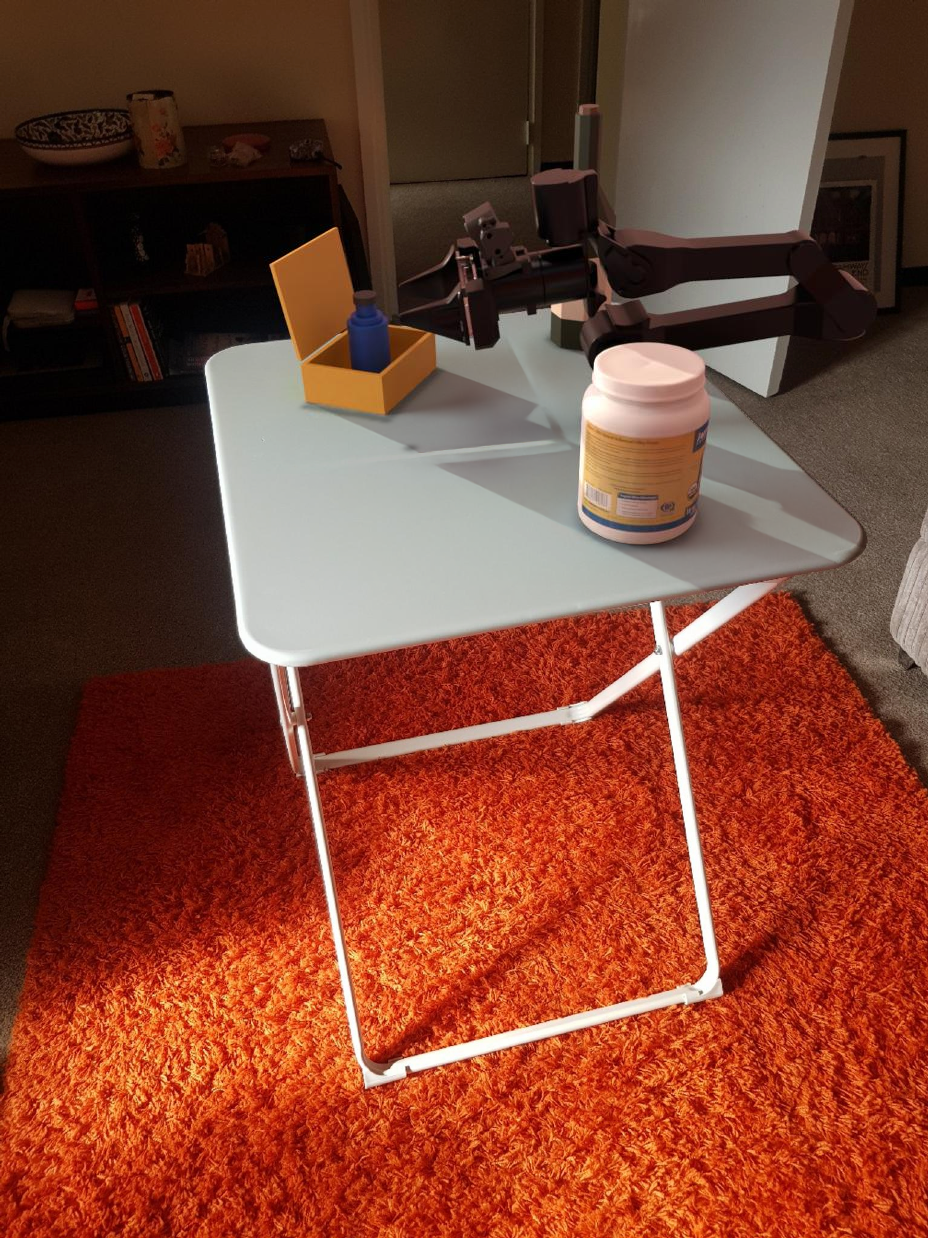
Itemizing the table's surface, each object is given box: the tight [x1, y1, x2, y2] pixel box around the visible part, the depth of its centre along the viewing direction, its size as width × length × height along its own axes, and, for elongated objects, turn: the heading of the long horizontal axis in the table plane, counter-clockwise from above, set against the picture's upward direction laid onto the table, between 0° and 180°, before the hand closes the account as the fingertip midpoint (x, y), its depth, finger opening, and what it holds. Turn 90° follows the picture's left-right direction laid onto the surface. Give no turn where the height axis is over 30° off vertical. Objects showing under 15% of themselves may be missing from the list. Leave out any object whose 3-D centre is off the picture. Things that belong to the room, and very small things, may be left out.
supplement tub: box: [577, 343, 711, 545], centre depth 96 cm, size 12×12×17 cm
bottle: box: [346, 289, 391, 374], centre depth 124 cm, size 5×5×12 cm
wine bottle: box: [550, 103, 617, 351], centre depth 130 cm, size 8×8×30 cm
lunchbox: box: [300, 324, 438, 416], centre depth 127 cm, size 11×15×6 cm
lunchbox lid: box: [269, 227, 356, 362], centre depth 124 cm, size 12×15×4 cm
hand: (399, 303), depth 107 cm, fingers open, 9 cm apart
